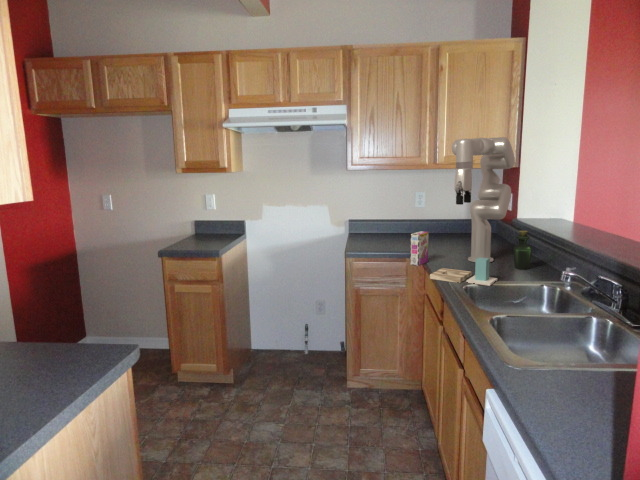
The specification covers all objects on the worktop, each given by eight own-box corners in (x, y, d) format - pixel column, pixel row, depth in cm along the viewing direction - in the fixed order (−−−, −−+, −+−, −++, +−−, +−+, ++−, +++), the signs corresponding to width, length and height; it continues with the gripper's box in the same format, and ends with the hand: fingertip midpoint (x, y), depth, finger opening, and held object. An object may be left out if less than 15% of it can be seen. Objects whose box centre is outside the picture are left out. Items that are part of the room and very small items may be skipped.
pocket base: (442, 272, 209) (442, 268, 209) (471, 275, 201) (471, 271, 200) (429, 278, 198) (429, 274, 198) (460, 282, 190) (460, 278, 189)
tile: (474, 277, 198) (474, 275, 198) (497, 280, 192) (497, 278, 191) (466, 282, 190) (466, 280, 190) (490, 285, 184) (490, 283, 184)
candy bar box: (419, 266, 222) (419, 234, 219) (410, 265, 225) (410, 233, 223) (428, 262, 231) (429, 231, 228) (420, 261, 234) (420, 230, 231)
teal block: (478, 277, 194) (479, 257, 192) (489, 278, 191) (489, 258, 190) (475, 279, 190) (475, 259, 189) (485, 281, 188) (486, 260, 186)
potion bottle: (533, 270, 207) (535, 232, 204) (514, 270, 208) (516, 232, 205) (528, 266, 215) (529, 229, 212) (510, 266, 216) (512, 230, 213)
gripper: (463, 166, 211) (462, 201, 214) (449, 167, 198) (448, 205, 200) (478, 165, 206) (477, 202, 209) (465, 166, 193) (464, 205, 196)
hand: (463, 203), depth 205 cm, fingers open, 9 cm apart
